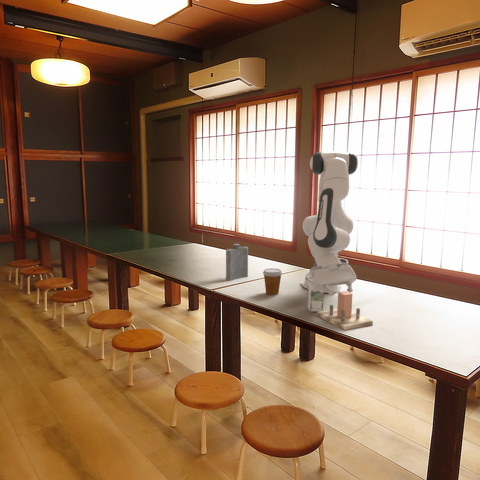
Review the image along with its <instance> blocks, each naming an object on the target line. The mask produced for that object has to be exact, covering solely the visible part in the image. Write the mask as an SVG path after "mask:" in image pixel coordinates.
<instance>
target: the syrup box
mask: <svg viewBox="0 0 480 480" xmlns="http://www.w3.org/2000/svg"><path fill="white" fill-rule="evenodd" d="M324 294H325V293H324V288H323V287H322V288H316V287H315V286H314V283H313V280H312V277H309V280H308V289H307V309H308V311H309V312H310V313H317V312H321V311H324V310H323V309H324Z"/></svg>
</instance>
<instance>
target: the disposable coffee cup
mask: <svg viewBox="0 0 480 480" xmlns="http://www.w3.org/2000/svg"><path fill="white" fill-rule="evenodd" d="M262 274H263V277H264V279H263V280H264V288H265V294H266V295H268V296H276V295H279V294H280V285H281V279H282V274H283V272H282V270H281V269H279V268H274V267H273V268H272V267H271V268H265V269H264V270H263V272H262Z"/></svg>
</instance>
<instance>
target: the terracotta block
mask: <svg viewBox="0 0 480 480" xmlns="http://www.w3.org/2000/svg"><path fill="white" fill-rule="evenodd" d="M336 309H337V316H339V317H341V311H345V318H350V317H351V311H352V310H353V292H351V293H349V292H348V291H347V290H346V291H345V290H344V291H338V292H337V308H336ZM352 312H353V311H352Z"/></svg>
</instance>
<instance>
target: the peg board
mask: <svg viewBox="0 0 480 480" xmlns="http://www.w3.org/2000/svg"><path fill="white" fill-rule="evenodd" d="M316 313H317V314H316V315H317V316H318V317H320V318H322V319H324V320H325V321H327V322H329V323H331V324H333V325H334V326H336V327H338V328H340V329H342V330H344V331H347V330H351V329H358V328H361V327H367V326H373V323H374V321H373V320H371V319H370V318H367V317H365V316H363V315H361V308H360V307H357V308H356V311H351V317H350V318H345V311H341V317H339V316H337V308H334V305H333V304H330V305H329V309H327V310H323V311H321V312H316Z"/></svg>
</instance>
